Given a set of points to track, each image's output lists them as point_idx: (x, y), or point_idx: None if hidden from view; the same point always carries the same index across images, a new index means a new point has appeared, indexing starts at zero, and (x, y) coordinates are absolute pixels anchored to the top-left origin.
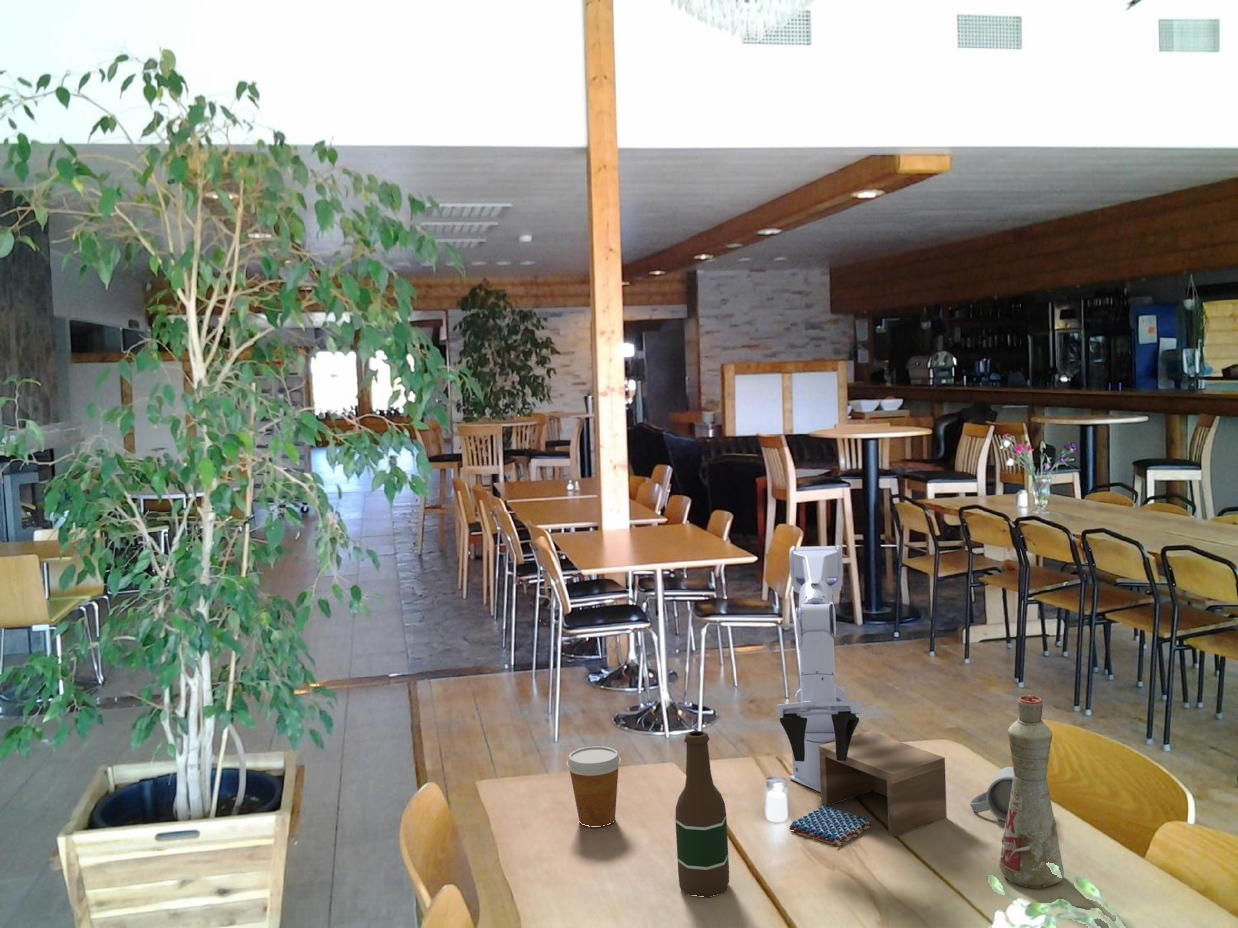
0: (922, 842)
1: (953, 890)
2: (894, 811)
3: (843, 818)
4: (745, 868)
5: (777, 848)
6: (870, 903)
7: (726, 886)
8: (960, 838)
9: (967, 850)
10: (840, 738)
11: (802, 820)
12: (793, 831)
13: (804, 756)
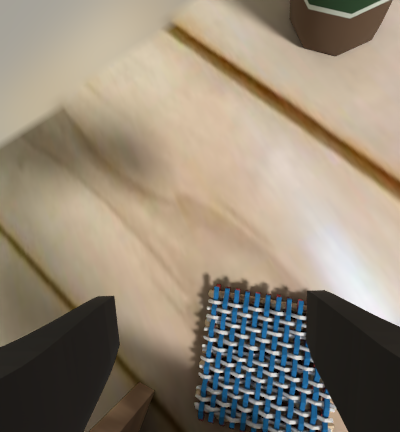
0: None
1: (5, 229)
2: (114, 406)
3: (246, 395)
4: (314, 113)
5: (310, 218)
6: (86, 129)
7: (294, 28)
8: None
9: None
10: (29, 337)
11: None
12: None
13: (312, 357)
